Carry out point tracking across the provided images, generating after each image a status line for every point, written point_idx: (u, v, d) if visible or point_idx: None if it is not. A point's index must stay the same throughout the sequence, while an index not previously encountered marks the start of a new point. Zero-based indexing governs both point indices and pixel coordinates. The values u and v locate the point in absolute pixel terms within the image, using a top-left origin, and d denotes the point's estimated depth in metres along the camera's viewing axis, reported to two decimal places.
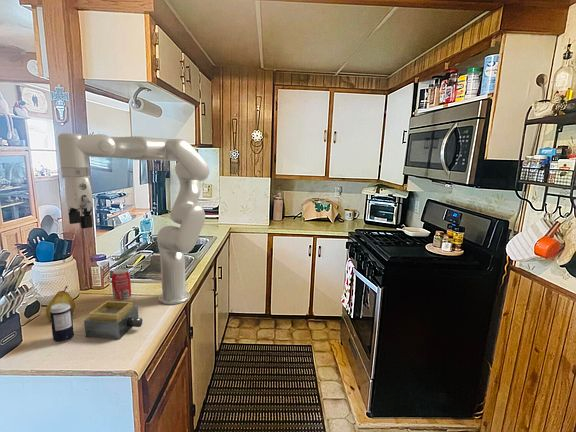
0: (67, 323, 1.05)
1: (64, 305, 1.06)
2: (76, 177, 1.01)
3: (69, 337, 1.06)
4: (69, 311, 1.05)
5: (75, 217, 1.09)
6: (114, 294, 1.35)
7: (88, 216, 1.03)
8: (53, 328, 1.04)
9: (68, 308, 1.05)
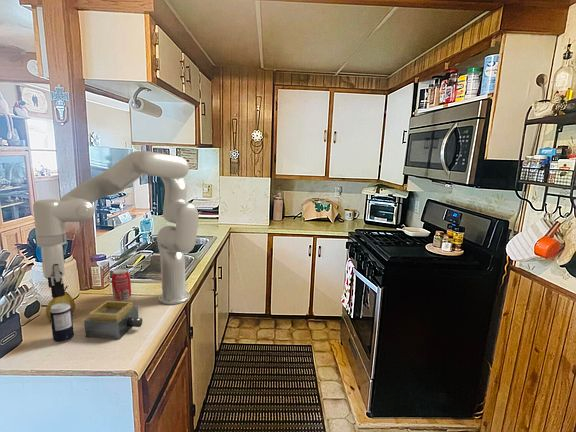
0: (67, 323, 1.05)
1: (64, 305, 1.06)
2: None
3: (69, 337, 1.06)
4: (69, 311, 1.05)
5: None
6: (114, 294, 1.35)
7: None
8: (53, 328, 1.04)
9: (68, 308, 1.05)
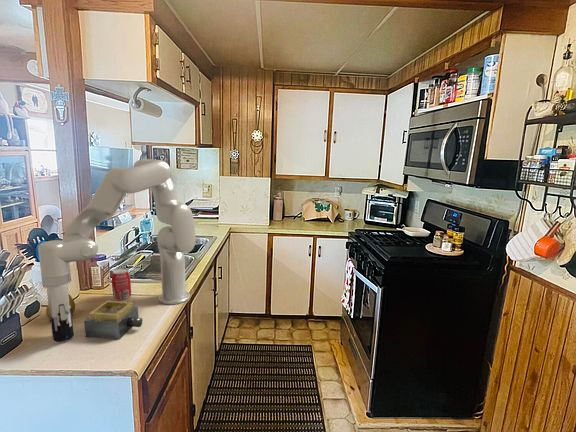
0: None
1: None
2: None
3: (69, 337, 1.06)
4: None
5: None
6: (114, 294, 1.35)
7: None
8: (53, 328, 1.04)
9: None
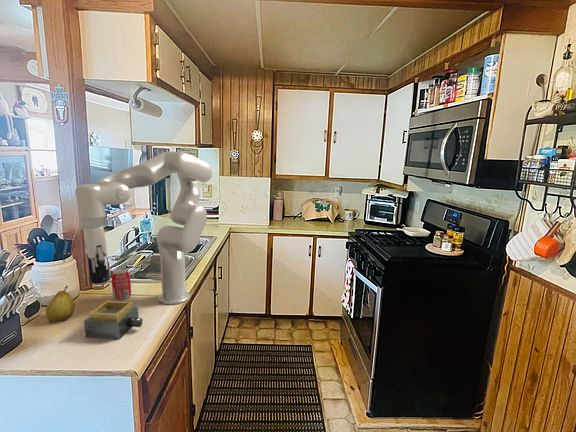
0: None
1: None
2: None
3: (106, 280, 1.09)
4: None
5: None
6: (114, 294, 1.35)
7: None
8: (91, 270, 1.06)
9: None
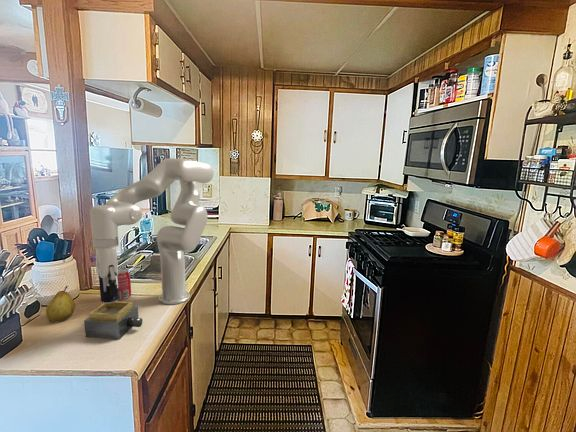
0: None
1: None
2: None
3: (116, 298, 1.11)
4: None
5: None
6: None
7: None
8: (102, 289, 1.08)
9: None
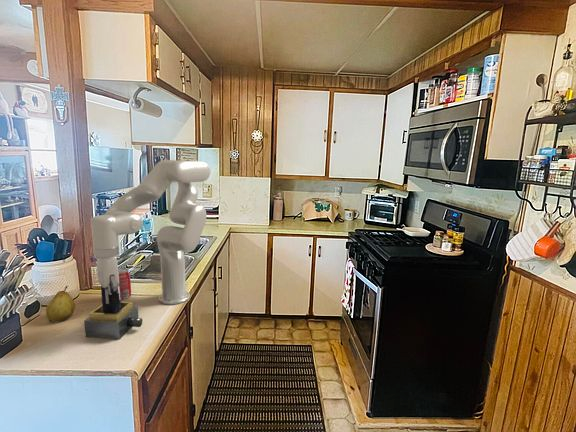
0: None
1: None
2: None
3: (118, 310, 1.12)
4: (118, 286, 1.11)
5: None
6: None
7: None
8: (104, 301, 1.10)
9: None
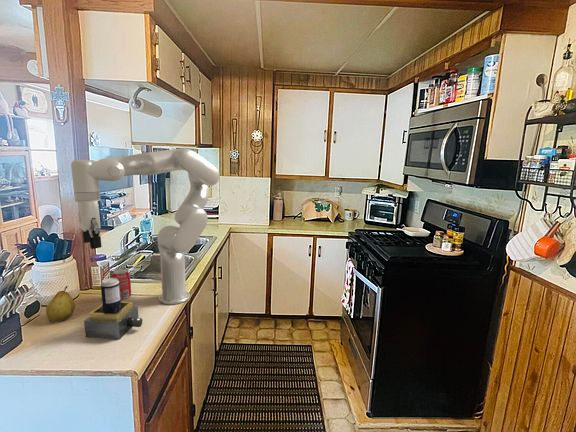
0: (116, 297, 1.11)
1: (113, 279, 1.12)
2: None
3: (118, 310, 1.12)
4: (118, 285, 1.11)
5: None
6: None
7: None
8: (104, 301, 1.10)
9: (117, 283, 1.11)
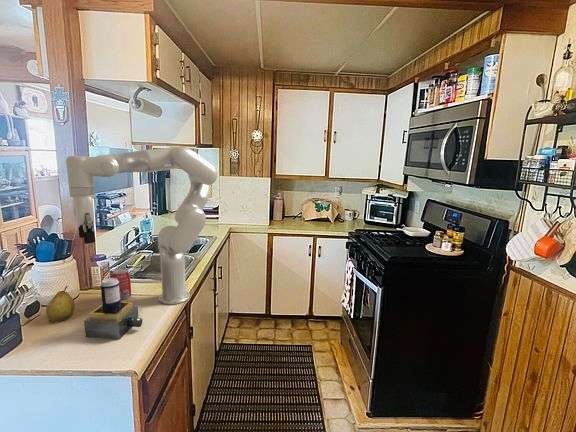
0: (116, 297, 1.11)
1: (113, 279, 1.12)
2: None
3: (118, 310, 1.12)
4: (118, 285, 1.11)
5: None
6: None
7: None
8: (104, 301, 1.10)
9: (117, 282, 1.11)
